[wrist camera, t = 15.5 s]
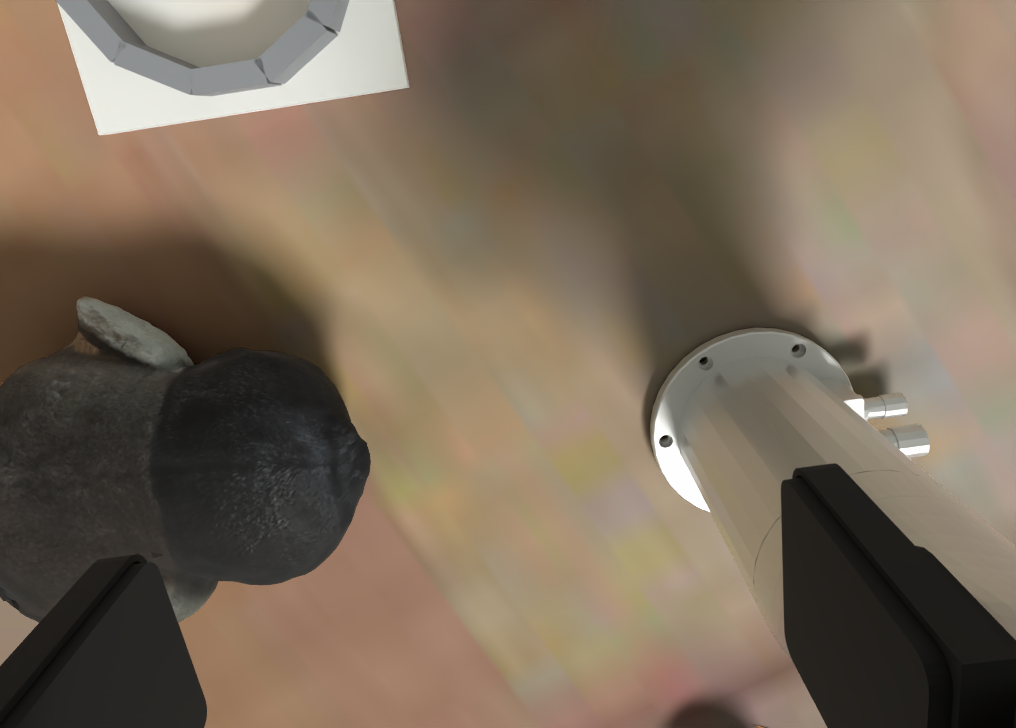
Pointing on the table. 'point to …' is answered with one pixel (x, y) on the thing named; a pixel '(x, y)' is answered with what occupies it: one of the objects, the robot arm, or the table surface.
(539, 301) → the table surface
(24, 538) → the dark grey rounded piece
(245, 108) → the ring stand
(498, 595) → the table surface
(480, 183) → the table surface
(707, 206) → the table surface
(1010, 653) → the robot arm
